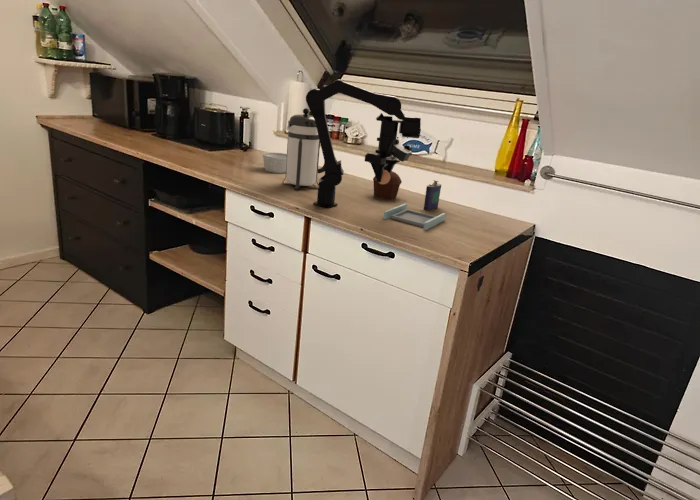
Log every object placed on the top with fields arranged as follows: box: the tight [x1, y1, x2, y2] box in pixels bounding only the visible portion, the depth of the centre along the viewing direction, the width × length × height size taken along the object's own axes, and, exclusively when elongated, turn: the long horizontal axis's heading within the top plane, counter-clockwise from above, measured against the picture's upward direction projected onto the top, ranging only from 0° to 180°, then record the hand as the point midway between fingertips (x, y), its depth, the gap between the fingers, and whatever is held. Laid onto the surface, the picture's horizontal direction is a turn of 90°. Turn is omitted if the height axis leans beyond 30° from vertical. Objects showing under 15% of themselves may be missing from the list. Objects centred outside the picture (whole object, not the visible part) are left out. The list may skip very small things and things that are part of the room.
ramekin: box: [262, 151, 287, 174], centre depth 218 cm, size 13×13×7 cm
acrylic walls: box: [382, 203, 447, 231], centre depth 168 cm, size 16×16×2 cm
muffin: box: [372, 170, 402, 200], centre depth 193 cm, size 12×11×10 cm
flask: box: [423, 179, 442, 212], centre depth 183 cm, size 9×3×11 cm, turn 144°
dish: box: [390, 208, 437, 228], centre depth 168 cm, size 12×12×1 cm
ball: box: [376, 170, 390, 184], centre depth 170 cm, size 5×5×5 cm
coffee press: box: [282, 107, 325, 191], centre depth 192 cm, size 17×16×30 cm
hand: (382, 181), depth 171 cm, fingers closed on ball, 5 cm apart
